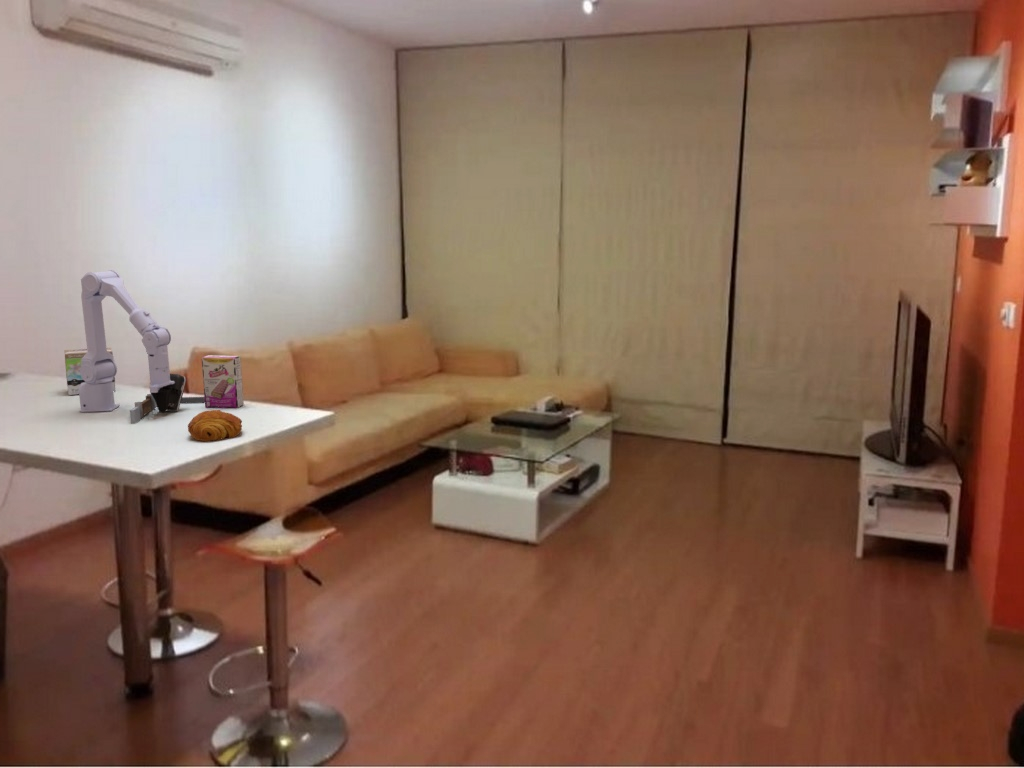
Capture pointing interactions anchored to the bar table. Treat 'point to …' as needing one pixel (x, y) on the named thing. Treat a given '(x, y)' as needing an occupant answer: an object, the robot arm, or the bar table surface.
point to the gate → (147, 405)
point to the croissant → (214, 426)
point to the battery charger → (176, 391)
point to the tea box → (76, 369)
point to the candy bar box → (222, 381)
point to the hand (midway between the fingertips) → (163, 411)
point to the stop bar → (192, 399)
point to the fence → (140, 410)
